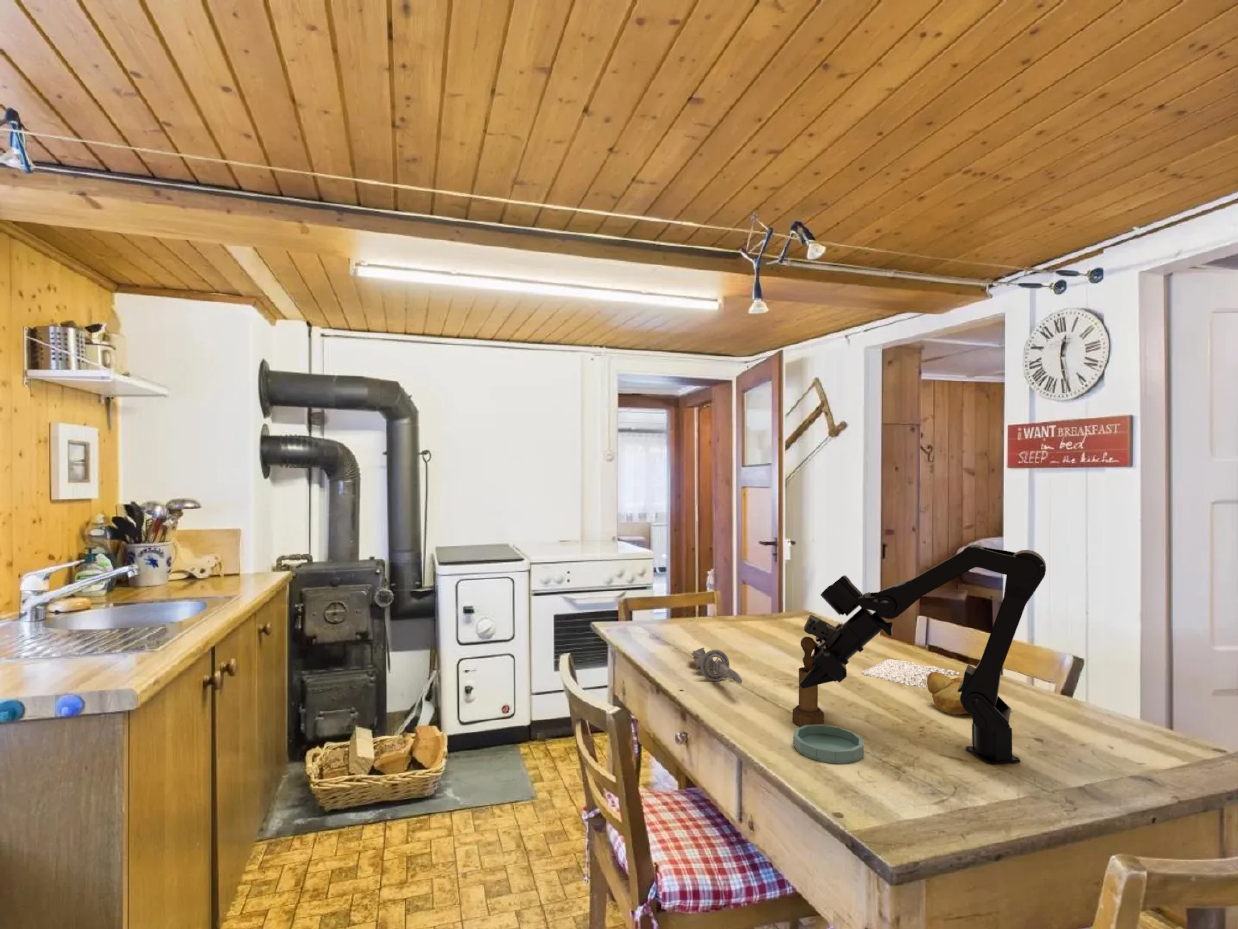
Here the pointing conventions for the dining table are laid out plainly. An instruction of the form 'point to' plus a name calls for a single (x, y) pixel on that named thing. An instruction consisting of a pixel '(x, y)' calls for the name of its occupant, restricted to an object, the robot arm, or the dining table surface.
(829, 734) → the glazed dish
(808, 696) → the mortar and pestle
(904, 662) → the salt crystals
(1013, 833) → the dining table surface
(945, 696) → the bread roll
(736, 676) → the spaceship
